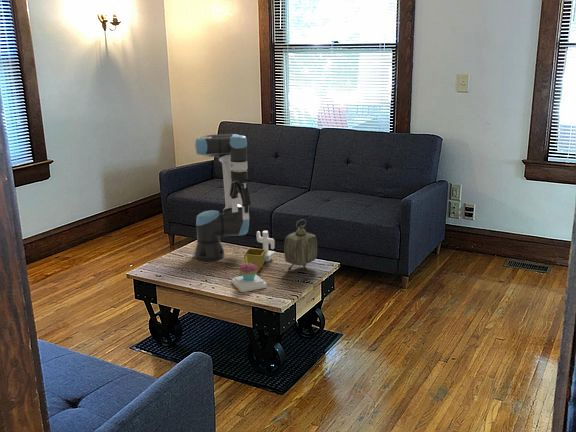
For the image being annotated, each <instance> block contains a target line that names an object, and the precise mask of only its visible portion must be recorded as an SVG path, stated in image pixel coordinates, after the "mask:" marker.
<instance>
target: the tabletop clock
mask: <svg viewBox="0 0 576 432" xmlns="http://www.w3.org/2000/svg"><path fill="white" fill-rule="evenodd" d="M301 221H302V222H303V221H304V222H305V223H304V225H302V224H300V225H299V226H298V224H299V223H300V222H301ZM306 225H307V221H306V219H304V218H301V219H299V220H297V221H296V223H295V226H296V230H295V231H294V232H292V233H289V234H288V235H286V237H285V238H284V246H283V247H284V248H283V249H284V250H283V252H284V255H283V256H284V260H285V262H286V263H289V264H291V265H290V267H289V266H288V268H287V271H289V272H290V271H292V268H293V267H294V266H299V267H301V266H303V267H302V270H303V271H306V270H307V267H305V266H306V265H308V264H310V263H312V262H314V261H315V260H316V259H317V255H318V239H317V236H316V235H315V233H314V234H313V233H311V232H307V231H306V229H305V228H304V227H306Z"/></svg>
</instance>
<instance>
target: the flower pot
mask: <svg viewBox="0 0 576 432" xmlns="http://www.w3.org/2000/svg"><path fill="white" fill-rule="evenodd" d="M265 251H266V250H265V249H263V248H247V250H246V251H245V252H244V253H243V258H244V264H246V259H245V256H247V263H253V264H255V265H256V266H257V267H258V272H259V271H260V270H261V269H262V267H263V265H264V263H265V261H264V260H265Z"/></svg>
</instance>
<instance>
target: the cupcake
mask: <svg viewBox="0 0 576 432" xmlns="http://www.w3.org/2000/svg"><path fill="white" fill-rule="evenodd" d="M245 259H246V264H245V263H243V264H242V265H240V266H239V268H238V270H239V273H240V274H241V276H243V278H244V280H247V281H251V280H254V278H255V275H257V273H258V272H259V271H258V267H257V266H256V265H255V264H253V263H247V256H245ZM245 259H244V260H245Z"/></svg>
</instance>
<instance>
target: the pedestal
mask: <svg viewBox="0 0 576 432" xmlns="http://www.w3.org/2000/svg"><path fill="white" fill-rule="evenodd" d="M231 283H232V284H233V286H235V288H237V290H239V291H240V293H246V292H250V291H256V290H260V289H265V288H267V287H268V286H267V285H268V283H267V282H266V281H265V280H263V279H262V278H261V277H260V276H259V275H257V274H256V275H255V278H254V280H251V281H247V280H244V278H243V276H242V275H239V276H234V277H233V278H231Z"/></svg>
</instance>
